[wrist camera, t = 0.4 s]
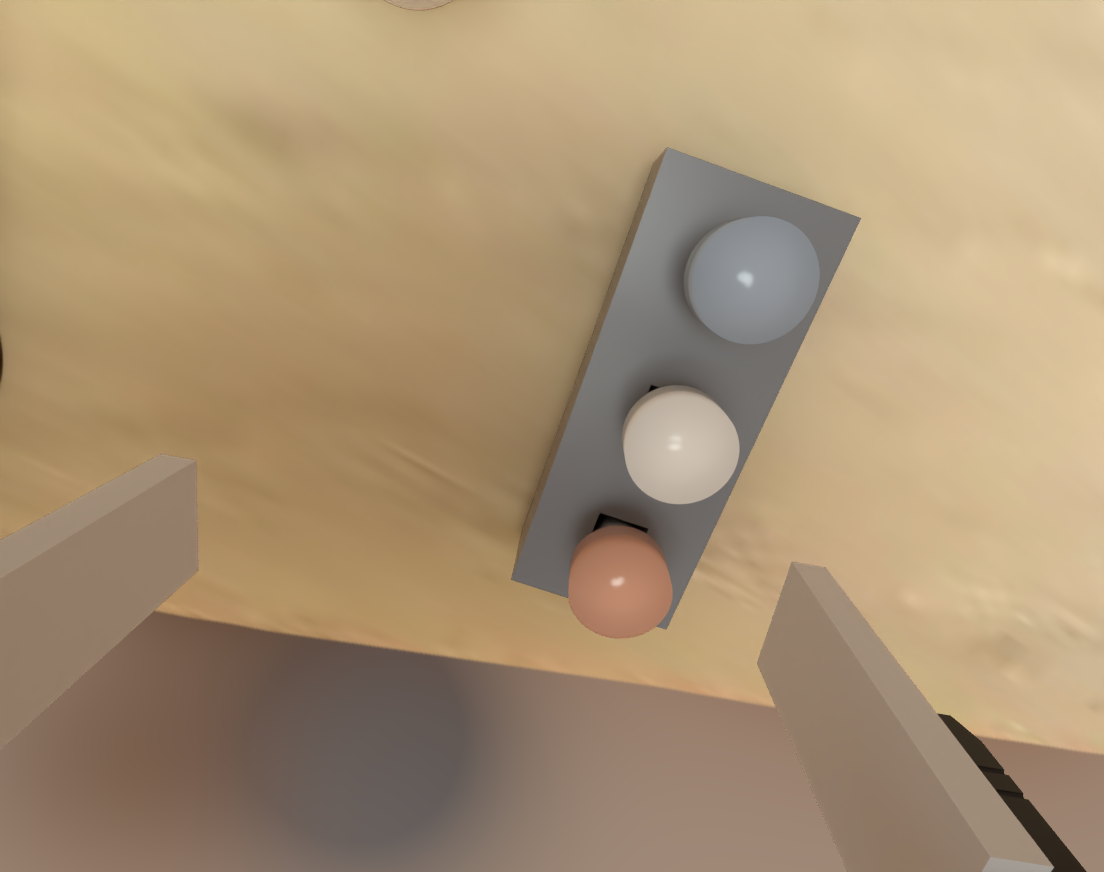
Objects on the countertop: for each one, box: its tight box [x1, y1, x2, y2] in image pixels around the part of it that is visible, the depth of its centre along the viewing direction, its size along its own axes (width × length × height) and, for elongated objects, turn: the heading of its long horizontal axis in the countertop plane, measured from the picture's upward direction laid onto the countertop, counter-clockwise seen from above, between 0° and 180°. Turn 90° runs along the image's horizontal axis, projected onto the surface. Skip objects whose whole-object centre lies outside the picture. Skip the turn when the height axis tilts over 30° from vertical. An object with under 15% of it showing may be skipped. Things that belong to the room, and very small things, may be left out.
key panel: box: [511, 147, 861, 629], centre depth 36 cm, size 10×25×6 cm, turn 161°
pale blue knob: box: [684, 216, 820, 344], centre depth 29 cm, size 5×5×7 cm
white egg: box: [622, 385, 740, 504], centre depth 31 cm, size 5×5×7 cm
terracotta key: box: [568, 513, 673, 638], centre depth 34 cm, size 5×5×7 cm
